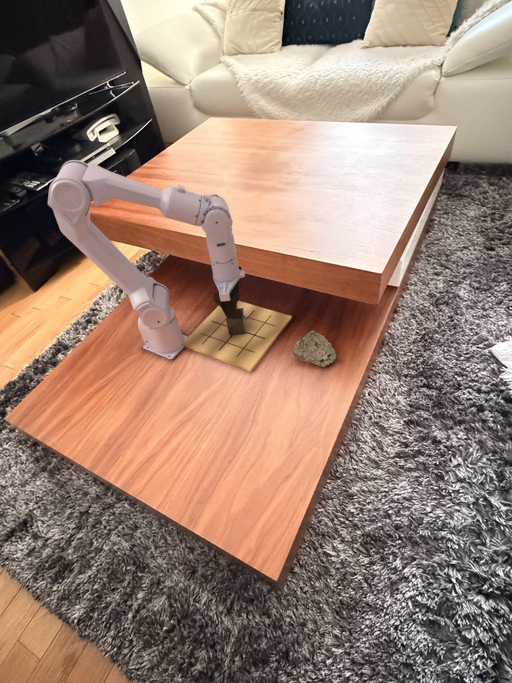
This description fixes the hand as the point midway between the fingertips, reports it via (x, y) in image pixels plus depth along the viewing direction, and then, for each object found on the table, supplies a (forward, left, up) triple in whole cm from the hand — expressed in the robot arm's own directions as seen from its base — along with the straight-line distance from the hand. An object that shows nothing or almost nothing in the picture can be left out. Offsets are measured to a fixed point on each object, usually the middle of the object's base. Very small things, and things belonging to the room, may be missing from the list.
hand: (232, 306), depth 91 cm
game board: (0, 0, -8) cm, 8 cm away
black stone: (0, 0, -7) cm, 7 cm away
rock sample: (+21, +1, -8) cm, 23 cm away
